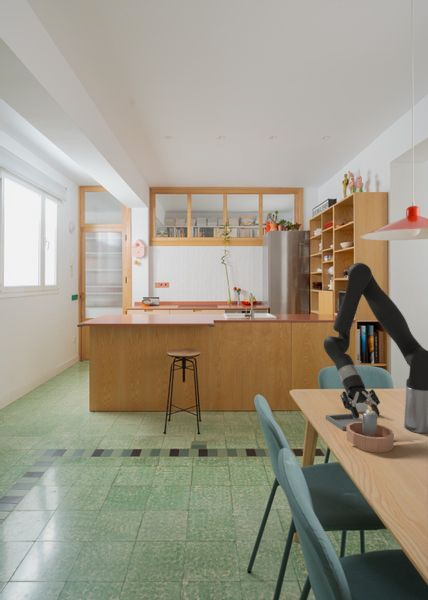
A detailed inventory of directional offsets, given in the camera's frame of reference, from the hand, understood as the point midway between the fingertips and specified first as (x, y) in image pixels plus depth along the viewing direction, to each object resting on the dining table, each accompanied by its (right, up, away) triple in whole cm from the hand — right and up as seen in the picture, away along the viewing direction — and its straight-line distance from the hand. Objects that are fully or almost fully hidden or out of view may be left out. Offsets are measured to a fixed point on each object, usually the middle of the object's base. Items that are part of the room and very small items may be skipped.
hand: (367, 416), depth 150 cm
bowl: (0, -9, -1) cm, 9 cm away
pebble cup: (0, -8, -1) cm, 8 cm away
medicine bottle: (+8, -8, +34) cm, 36 cm away
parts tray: (-2, -8, +16) cm, 18 cm away
